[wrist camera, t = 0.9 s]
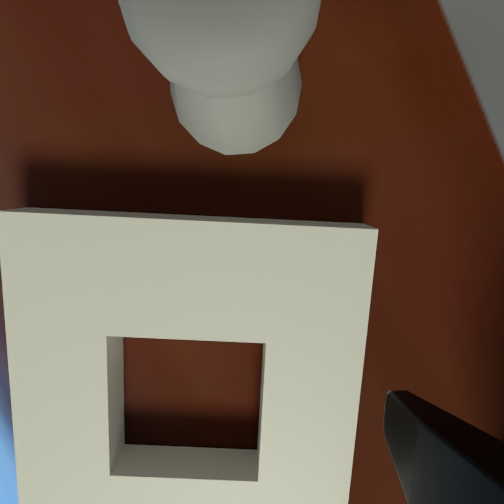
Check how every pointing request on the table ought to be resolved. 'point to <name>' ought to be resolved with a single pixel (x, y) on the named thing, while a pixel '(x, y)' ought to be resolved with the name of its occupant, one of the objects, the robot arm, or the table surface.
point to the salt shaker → (227, 64)
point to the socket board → (187, 328)
